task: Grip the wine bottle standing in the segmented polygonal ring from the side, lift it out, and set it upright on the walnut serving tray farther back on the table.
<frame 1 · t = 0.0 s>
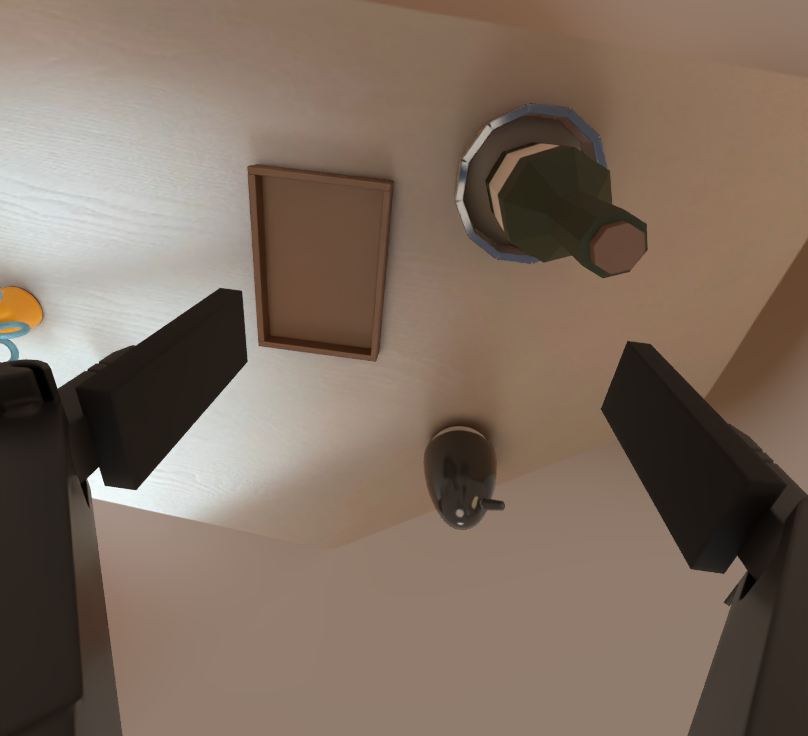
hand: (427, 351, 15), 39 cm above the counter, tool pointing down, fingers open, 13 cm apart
wine bottle: (523, 185, 48), on the counter
tray: (323, 267, 54), on the counter
black egg-shaped piece: (459, 442, 65), on the counter
segmented polygonal ring: (523, 185, 48), on the counter
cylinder: (23, 306, 60), on the counter
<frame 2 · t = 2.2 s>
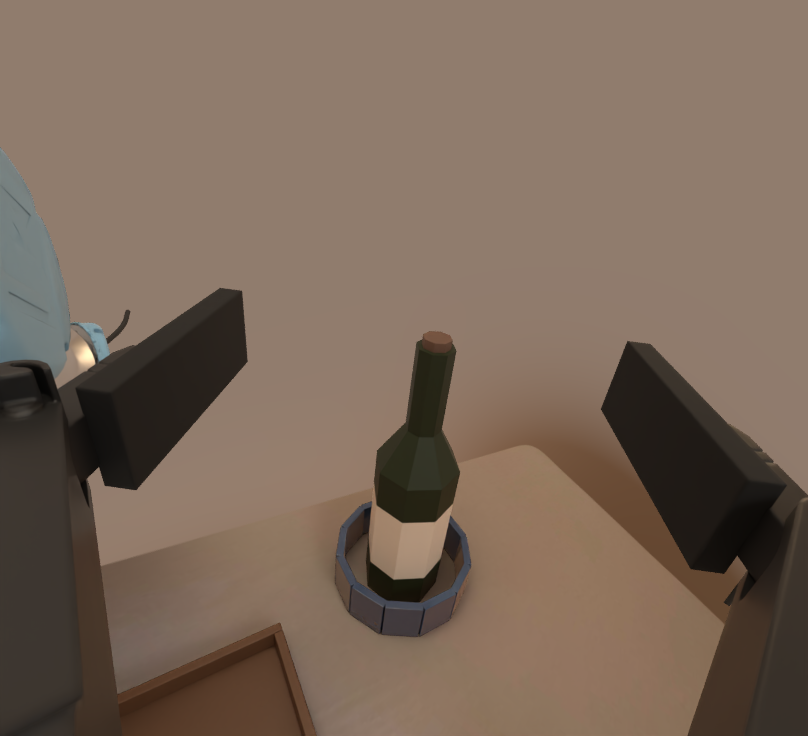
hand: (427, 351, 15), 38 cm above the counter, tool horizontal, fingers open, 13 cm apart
wine bottle: (400, 572, 50), on the counter
segmented polygonal ring: (400, 571, 50), on the counter
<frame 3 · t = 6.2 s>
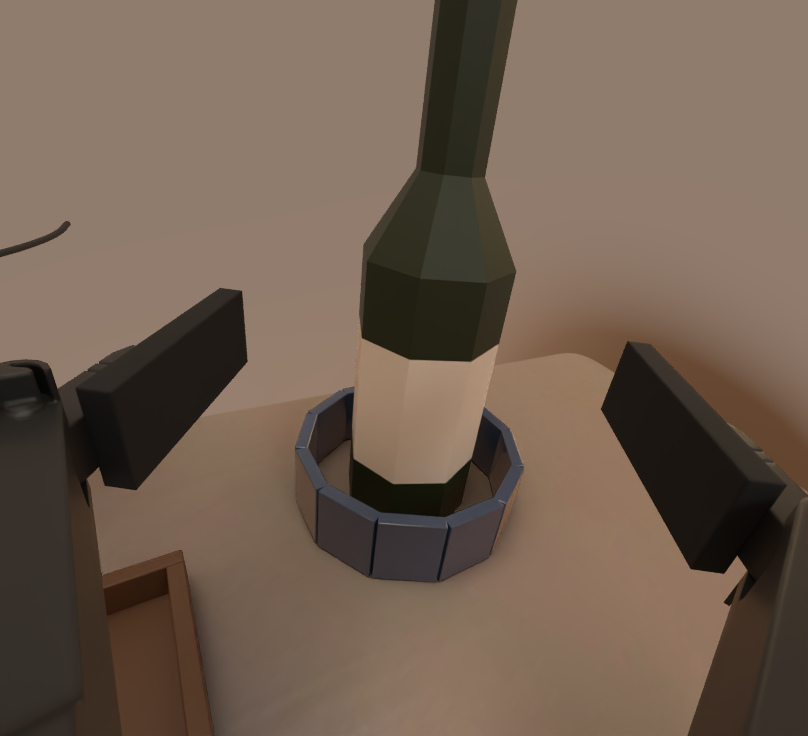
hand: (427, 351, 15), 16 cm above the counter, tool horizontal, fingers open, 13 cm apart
wine bottle: (403, 489, 31), on the counter
segmented polygonal ring: (403, 487, 31), on the counter
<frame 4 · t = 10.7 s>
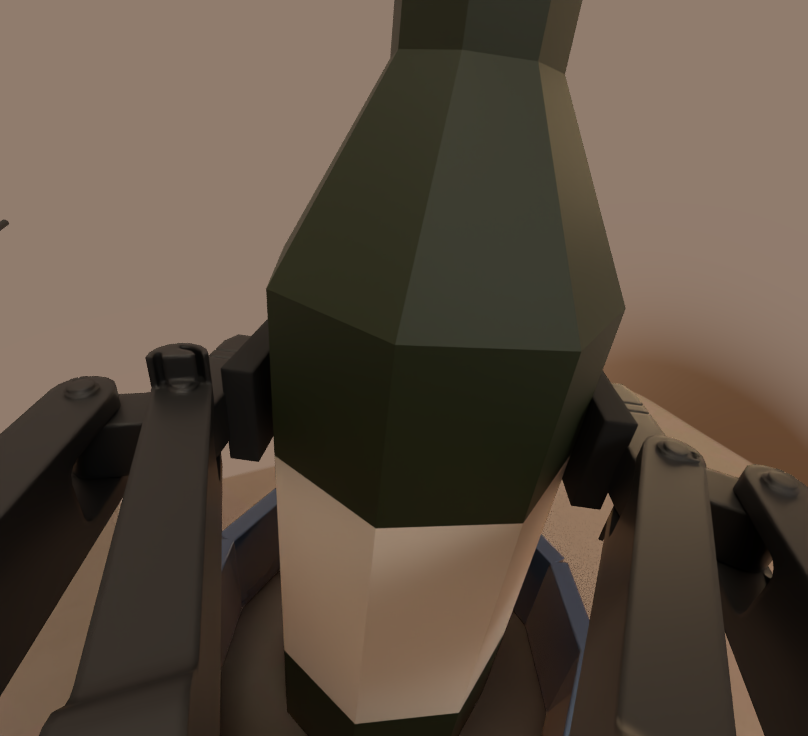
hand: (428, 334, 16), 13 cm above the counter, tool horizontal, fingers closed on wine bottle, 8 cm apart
wine bottle: (384, 660, 19), on the counter, touching gripper
segmented polygonal ring: (384, 657, 18), on the counter
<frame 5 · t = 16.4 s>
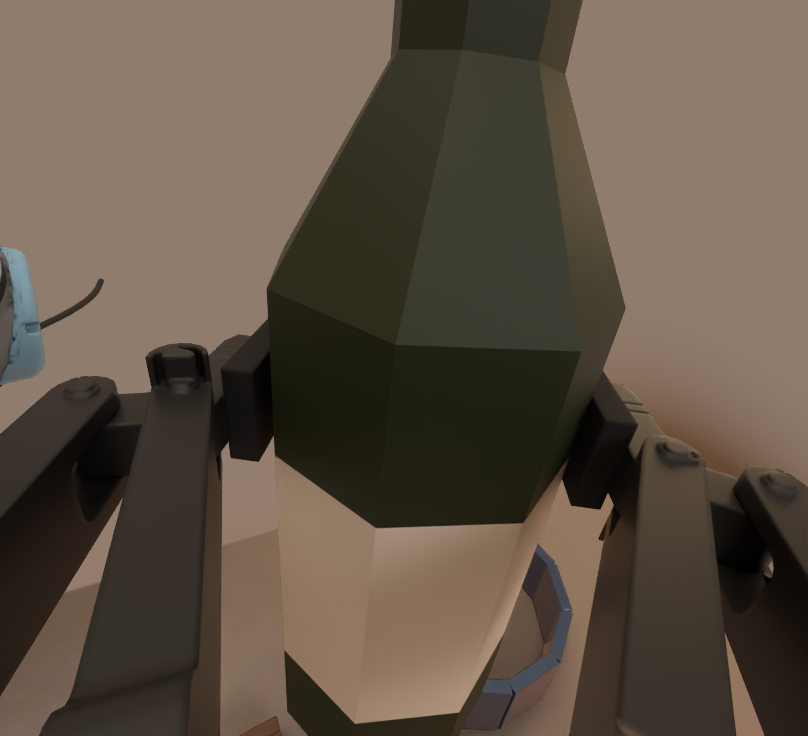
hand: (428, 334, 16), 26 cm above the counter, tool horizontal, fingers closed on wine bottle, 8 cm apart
wine bottle: (384, 660, 19), point 13 cm above the counter, touching gripper
segmented polygonal ring: (456, 615, 34), on the counter
when the fingers open (14 cm above the counter, at t = 22.3 s): wine bottle stays where it is, resting on tray.
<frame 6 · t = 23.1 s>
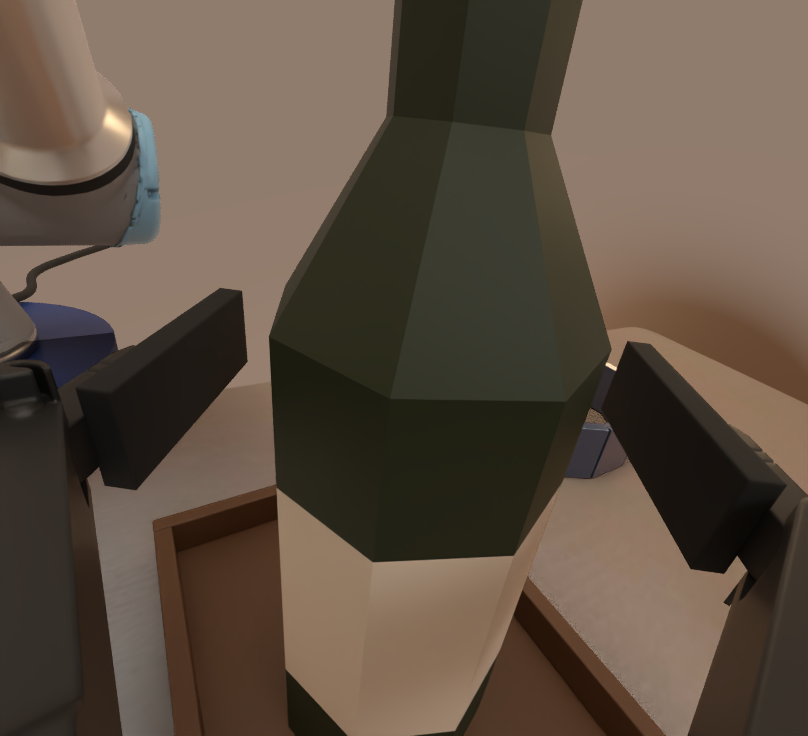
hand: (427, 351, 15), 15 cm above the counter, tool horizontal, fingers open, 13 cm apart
wine bottle: (383, 675, 19), resting on tray
tray: (381, 678, 19), on the counter
segmented polygonal ring: (538, 419, 39), on the counter
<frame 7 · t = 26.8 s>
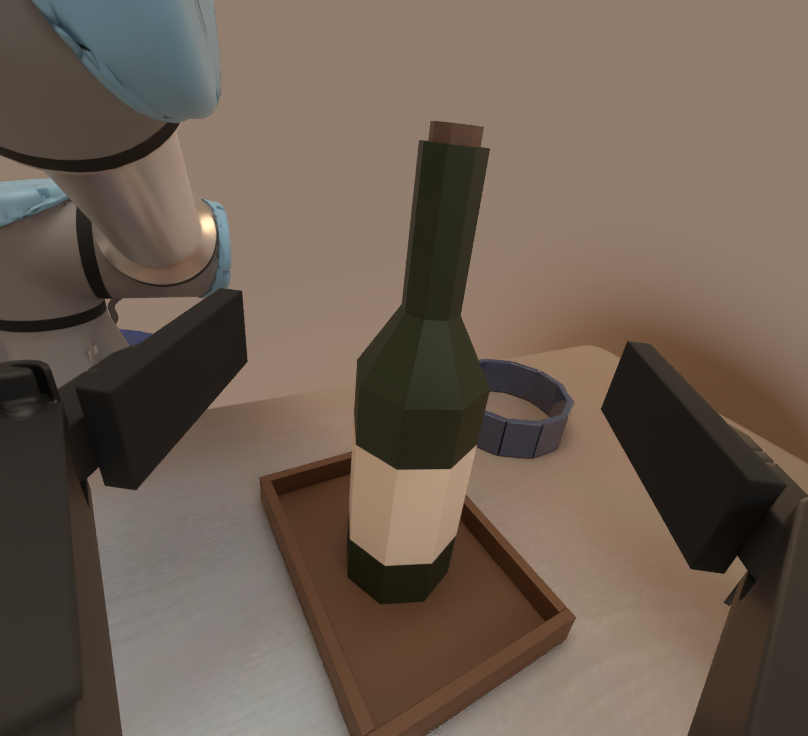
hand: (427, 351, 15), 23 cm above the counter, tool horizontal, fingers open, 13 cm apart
wine bottle: (395, 558, 34), resting on tray
tray: (395, 560, 35), on the counter
segmented polygonal ring: (501, 418, 54), on the counter
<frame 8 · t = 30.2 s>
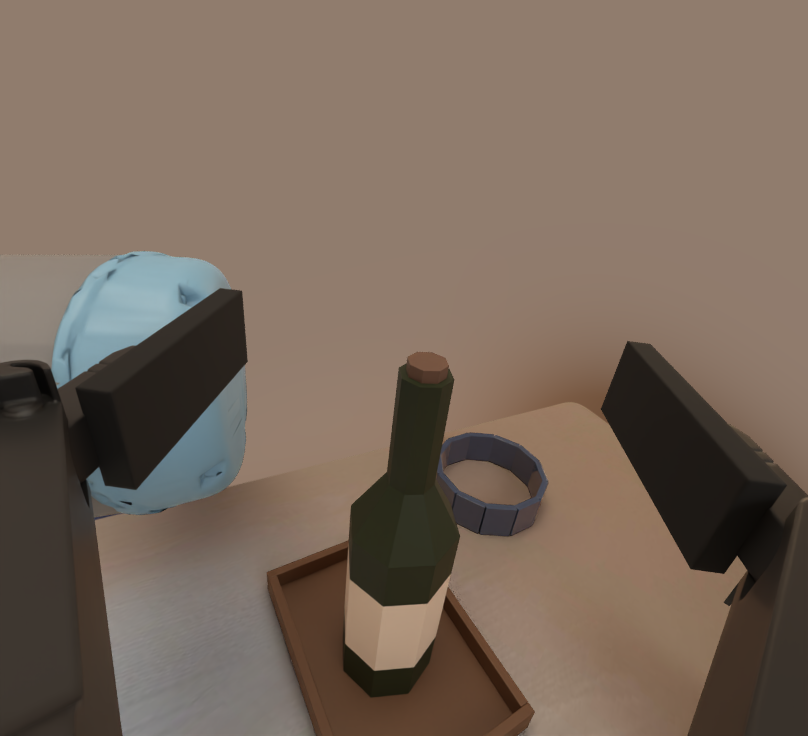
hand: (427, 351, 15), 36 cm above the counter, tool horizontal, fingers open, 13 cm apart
wine bottle: (385, 649, 40), resting on tray
tray: (384, 650, 40), on the counter
segmented polygonal ring: (484, 491, 60), on the counter
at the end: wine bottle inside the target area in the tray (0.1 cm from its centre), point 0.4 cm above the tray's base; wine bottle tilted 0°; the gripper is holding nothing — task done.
